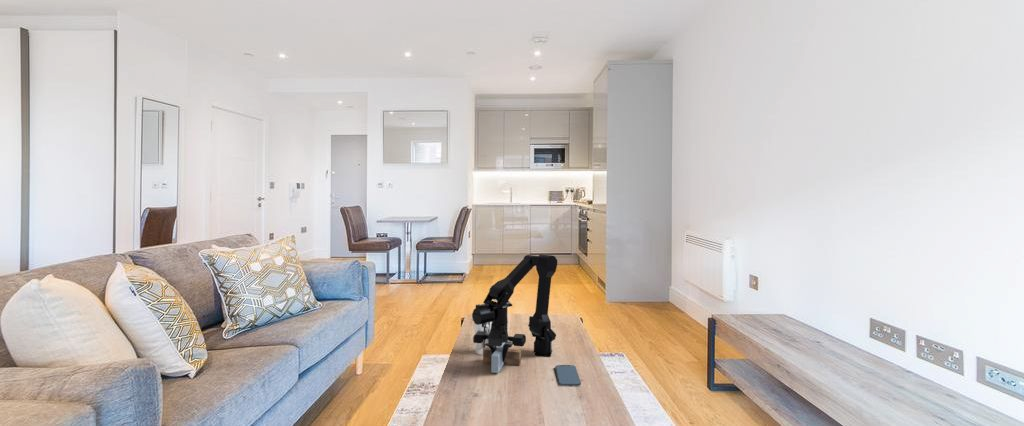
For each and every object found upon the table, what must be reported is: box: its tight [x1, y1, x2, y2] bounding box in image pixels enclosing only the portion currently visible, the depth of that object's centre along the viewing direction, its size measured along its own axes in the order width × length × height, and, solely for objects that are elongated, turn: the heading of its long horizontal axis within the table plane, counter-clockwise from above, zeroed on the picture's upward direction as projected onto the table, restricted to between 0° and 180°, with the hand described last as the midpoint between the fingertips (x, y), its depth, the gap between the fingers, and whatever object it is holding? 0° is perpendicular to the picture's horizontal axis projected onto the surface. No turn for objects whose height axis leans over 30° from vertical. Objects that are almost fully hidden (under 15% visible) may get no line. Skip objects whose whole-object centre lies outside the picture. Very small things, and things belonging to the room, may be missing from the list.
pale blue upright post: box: [490, 343, 505, 374], centre depth 156 cm, size 2×14×6 cm, turn 168°
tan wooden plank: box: [482, 347, 522, 367], centre depth 160 cm, size 14×2×5 cm, turn 78°
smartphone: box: [554, 364, 582, 387], centre depth 148 cm, size 8×2×15 cm
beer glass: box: [473, 322, 492, 356], centre depth 171 cm, size 7×7×15 cm
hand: (499, 361), depth 156 cm, fingers closed on pale blue upright post, 2 cm apart
